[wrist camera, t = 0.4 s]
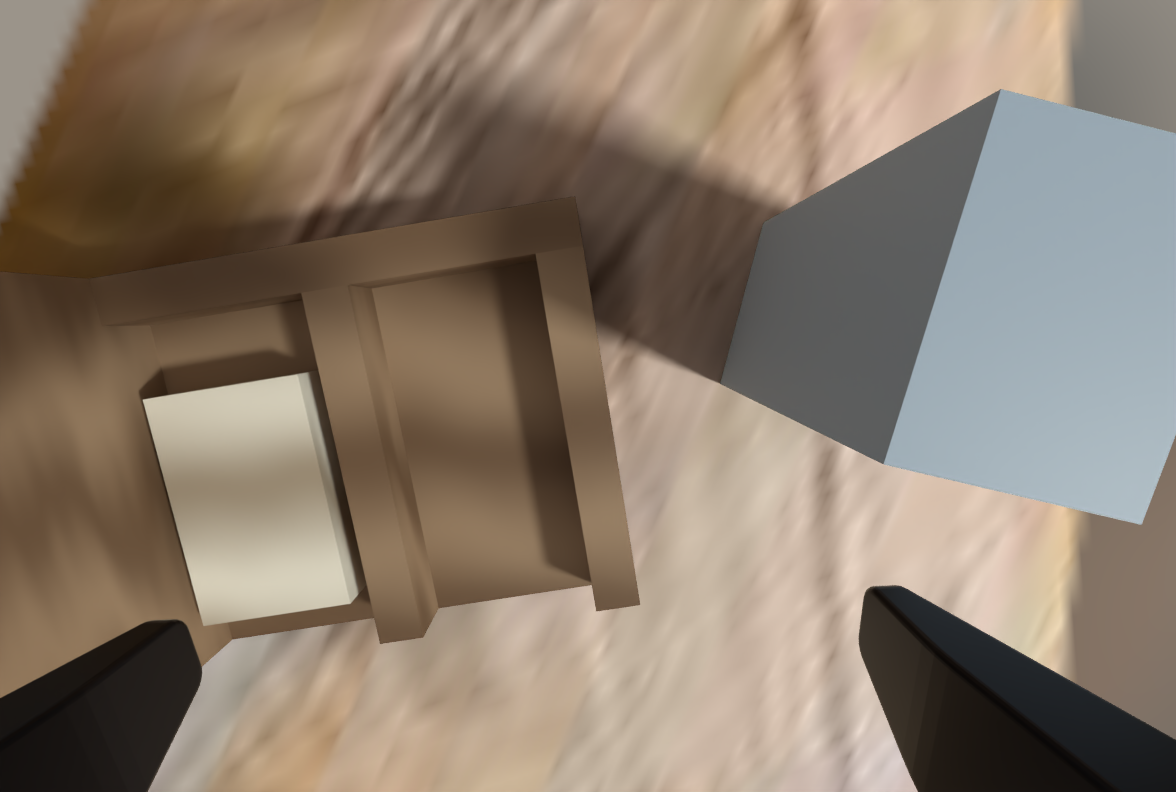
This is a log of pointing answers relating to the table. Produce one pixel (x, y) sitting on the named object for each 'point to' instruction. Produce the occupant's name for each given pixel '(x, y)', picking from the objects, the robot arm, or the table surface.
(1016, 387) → the blue-gray rectangular box
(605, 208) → the table surface
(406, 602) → the book rack
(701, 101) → the table surface
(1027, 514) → the table surface
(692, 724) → the table surface
